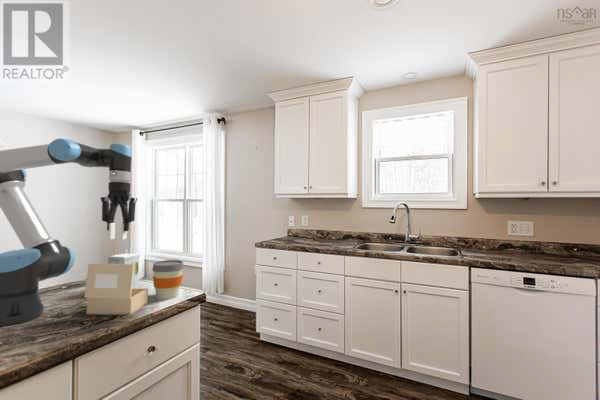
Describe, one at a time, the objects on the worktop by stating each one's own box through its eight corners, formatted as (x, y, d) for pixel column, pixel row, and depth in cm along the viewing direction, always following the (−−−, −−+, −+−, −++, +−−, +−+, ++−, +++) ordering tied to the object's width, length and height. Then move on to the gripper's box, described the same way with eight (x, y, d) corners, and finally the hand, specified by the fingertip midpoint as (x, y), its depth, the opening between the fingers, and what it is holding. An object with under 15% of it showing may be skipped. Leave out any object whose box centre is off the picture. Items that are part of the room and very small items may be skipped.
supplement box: (122, 294, 123) (123, 257, 124) (105, 293, 125) (106, 256, 126) (139, 288, 133) (140, 253, 133) (122, 287, 134) (124, 252, 135)
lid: (85, 297, 101) (84, 297, 100) (89, 263, 102) (88, 263, 102) (130, 298, 101) (129, 298, 100) (133, 264, 103) (133, 264, 102)
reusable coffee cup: (162, 291, 129) (163, 259, 130) (187, 292, 128) (188, 260, 128) (145, 300, 117) (146, 265, 117) (172, 301, 116) (174, 266, 116)
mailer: (86, 314, 101) (87, 297, 101) (108, 302, 113) (109, 288, 113) (130, 314, 101) (131, 298, 102) (147, 303, 113) (148, 288, 114)
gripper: (91, 180, 108) (89, 239, 108) (135, 181, 109) (133, 240, 108) (104, 182, 116) (102, 237, 115) (145, 183, 116) (143, 238, 116)
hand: (117, 238), depth 112 cm, fingers open, 4 cm apart
